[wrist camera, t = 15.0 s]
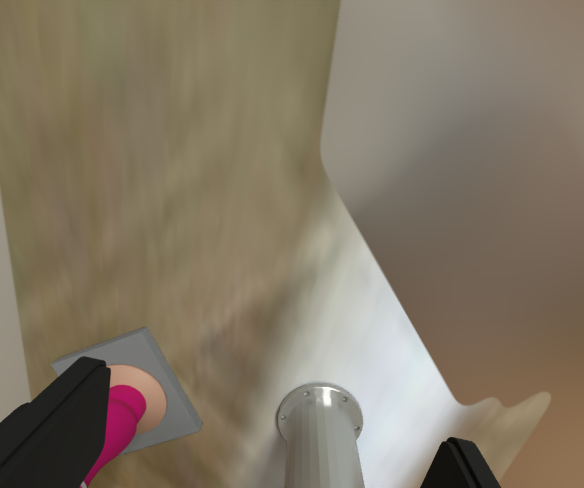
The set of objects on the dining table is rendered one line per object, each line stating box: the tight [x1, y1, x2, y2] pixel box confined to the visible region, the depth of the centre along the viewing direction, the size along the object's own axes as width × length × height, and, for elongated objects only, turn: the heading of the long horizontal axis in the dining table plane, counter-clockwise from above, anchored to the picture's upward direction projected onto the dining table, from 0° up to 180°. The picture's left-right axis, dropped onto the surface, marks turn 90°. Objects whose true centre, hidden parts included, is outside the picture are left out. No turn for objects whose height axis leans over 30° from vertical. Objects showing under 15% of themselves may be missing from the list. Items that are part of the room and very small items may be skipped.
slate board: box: [51, 326, 202, 456], centre depth 47 cm, size 18×15×2 cm
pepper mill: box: [79, 385, 146, 488], centre depth 37 cm, size 7×7×20 cm
